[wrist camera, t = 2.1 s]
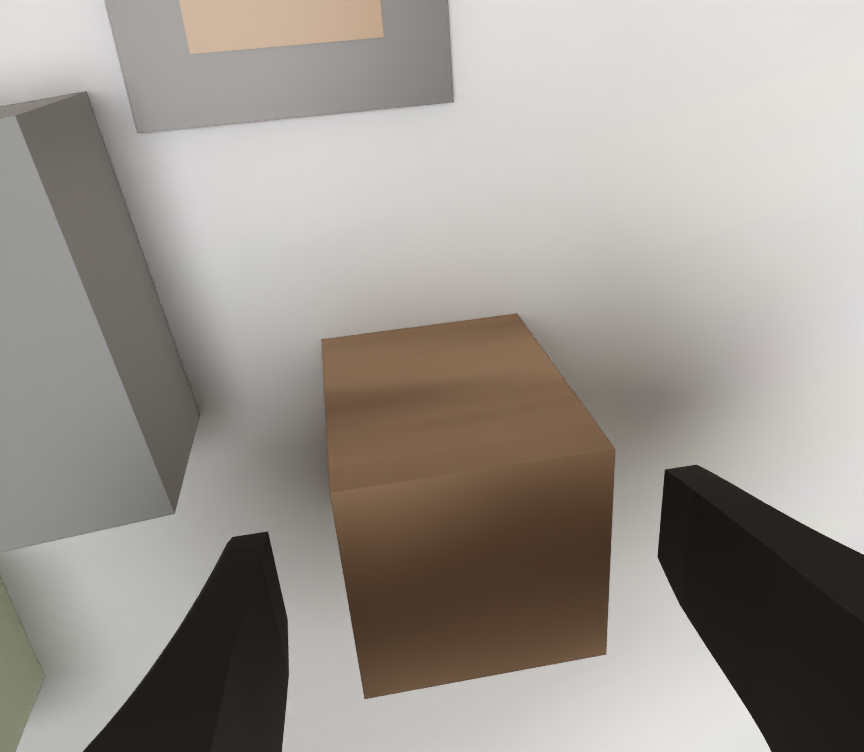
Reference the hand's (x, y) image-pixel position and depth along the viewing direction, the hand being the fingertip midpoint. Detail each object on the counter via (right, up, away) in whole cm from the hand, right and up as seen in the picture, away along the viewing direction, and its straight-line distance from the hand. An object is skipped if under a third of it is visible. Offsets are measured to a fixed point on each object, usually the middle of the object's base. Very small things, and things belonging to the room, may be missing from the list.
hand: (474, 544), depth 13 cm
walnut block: (-1, +2, +4) cm, 5 cm away
